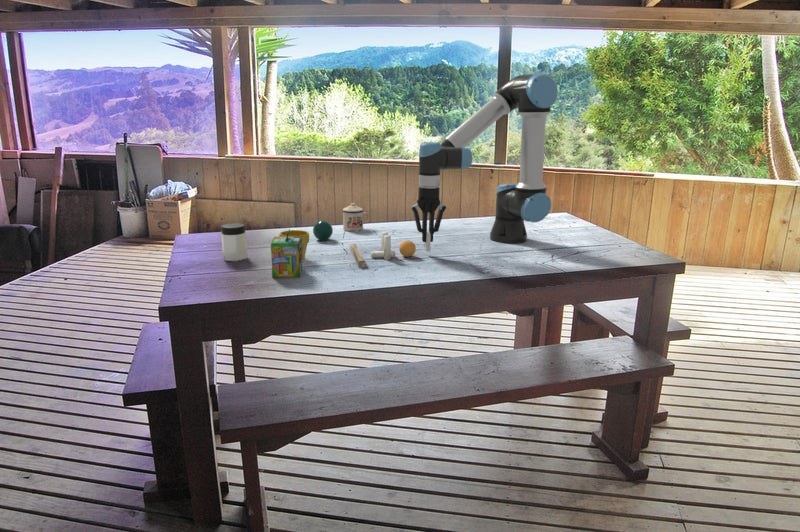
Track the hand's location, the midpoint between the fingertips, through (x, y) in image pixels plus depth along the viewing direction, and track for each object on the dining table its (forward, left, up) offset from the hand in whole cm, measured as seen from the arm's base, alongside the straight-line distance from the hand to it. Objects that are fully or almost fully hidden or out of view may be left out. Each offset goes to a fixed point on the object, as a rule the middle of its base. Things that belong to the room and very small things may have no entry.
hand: (427, 250), depth 210 cm
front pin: (+12, 0, -1) cm, 12 cm away
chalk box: (+51, +15, -2) cm, 53 cm away
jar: (+69, -7, -2) cm, 69 cm away
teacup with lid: (+20, -48, -2) cm, 52 cm away
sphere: (+36, -30, -2) cm, 47 cm away
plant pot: (+48, -2, -2) cm, 48 cm away
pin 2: (+15, +3, -2) cm, 16 cm away
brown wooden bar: (+26, 0, -2) cm, 26 cm away
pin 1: (+15, -2, -2) cm, 16 cm away
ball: (+8, 0, +1) cm, 8 cm away
